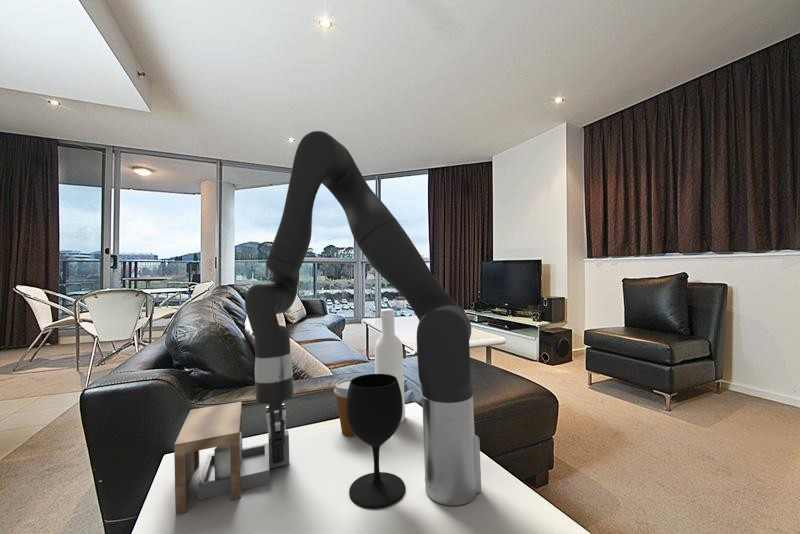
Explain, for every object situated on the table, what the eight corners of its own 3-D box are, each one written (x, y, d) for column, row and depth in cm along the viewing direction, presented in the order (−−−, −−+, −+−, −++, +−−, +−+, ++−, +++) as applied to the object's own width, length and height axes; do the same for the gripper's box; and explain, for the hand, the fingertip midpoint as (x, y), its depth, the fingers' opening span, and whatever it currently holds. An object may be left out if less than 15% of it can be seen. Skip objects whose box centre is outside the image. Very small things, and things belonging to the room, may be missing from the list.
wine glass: (399, 512, 57) (395, 390, 58) (340, 505, 59) (336, 388, 60) (410, 476, 67) (406, 372, 68) (359, 471, 70) (356, 371, 70)
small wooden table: (242, 454, 78) (241, 401, 79) (240, 498, 62) (239, 432, 63) (191, 465, 74) (190, 409, 75) (175, 515, 58) (174, 444, 59)
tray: (287, 450, 79) (286, 419, 80) (291, 478, 68) (290, 442, 68) (208, 466, 73) (207, 433, 74) (198, 500, 62) (197, 460, 62)
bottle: (383, 412, 100) (380, 308, 101) (409, 415, 97) (405, 308, 98) (371, 423, 92) (368, 311, 93) (399, 427, 90) (395, 311, 90)
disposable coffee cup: (349, 443, 82) (347, 392, 82) (328, 431, 89) (326, 383, 89) (380, 430, 88) (378, 382, 88) (358, 419, 95) (357, 375, 96)
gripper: (296, 381, 68) (300, 469, 68) (289, 366, 81) (293, 440, 81) (255, 388, 66) (259, 480, 65) (254, 371, 78) (258, 448, 78)
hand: (277, 458), depth 73 cm, fingers closed on tray, 2 cm apart
